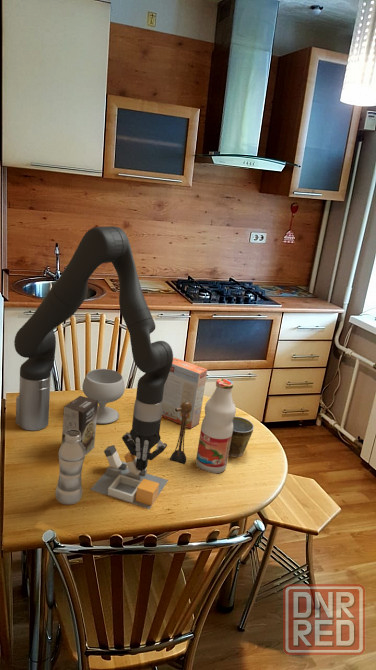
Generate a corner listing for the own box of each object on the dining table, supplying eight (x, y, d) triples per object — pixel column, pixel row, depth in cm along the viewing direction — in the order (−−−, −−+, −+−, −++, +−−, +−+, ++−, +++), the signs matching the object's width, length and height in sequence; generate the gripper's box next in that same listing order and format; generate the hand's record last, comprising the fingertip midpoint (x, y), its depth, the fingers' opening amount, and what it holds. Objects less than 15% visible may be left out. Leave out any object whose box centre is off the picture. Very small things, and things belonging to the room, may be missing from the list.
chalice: (88, 428, 168) (91, 387, 163) (74, 409, 179) (77, 369, 174) (128, 422, 175) (132, 382, 170) (112, 404, 186) (116, 365, 181)
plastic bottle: (57, 492, 136) (60, 425, 129) (83, 493, 137) (88, 427, 130) (52, 508, 130) (56, 438, 123) (80, 509, 131) (85, 441, 124)
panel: (89, 493, 137) (90, 483, 136) (112, 466, 150) (113, 457, 149) (149, 513, 133) (150, 502, 132) (167, 483, 146) (169, 474, 145)
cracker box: (199, 423, 181) (208, 368, 174) (190, 429, 176) (199, 373, 169) (167, 409, 188) (174, 356, 181) (157, 415, 183) (164, 360, 176)
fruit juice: (232, 468, 157) (248, 384, 148) (210, 478, 151) (225, 391, 142) (210, 453, 164) (224, 372, 154) (189, 462, 157) (201, 378, 148)
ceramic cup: (254, 453, 167) (260, 426, 164) (235, 463, 160) (240, 435, 157) (223, 436, 175) (228, 409, 172) (204, 445, 168) (208, 417, 165)
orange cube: (135, 500, 135) (137, 487, 134) (142, 491, 139) (143, 478, 138) (151, 505, 134) (153, 492, 133) (157, 496, 138) (159, 483, 137)
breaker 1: (111, 470, 145) (103, 451, 144) (116, 465, 147) (108, 446, 146) (117, 468, 144) (109, 449, 143) (122, 463, 147) (114, 444, 146)
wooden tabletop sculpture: (172, 467, 154) (181, 407, 147) (164, 459, 157) (172, 400, 151) (188, 463, 157) (197, 404, 150) (180, 455, 160) (189, 397, 154)
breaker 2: (131, 476, 143) (124, 456, 142) (135, 470, 146) (128, 451, 145) (137, 475, 143) (130, 455, 142) (141, 469, 145) (134, 450, 144)
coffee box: (79, 462, 150) (82, 412, 145) (60, 455, 152) (62, 406, 146) (95, 447, 158) (99, 400, 153) (76, 441, 160) (80, 394, 155)
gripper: (118, 413, 136) (113, 469, 142) (165, 426, 133) (158, 483, 138) (130, 402, 143) (125, 456, 149) (175, 414, 140) (168, 469, 145)
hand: (141, 469), depth 143 cm, fingers closed
